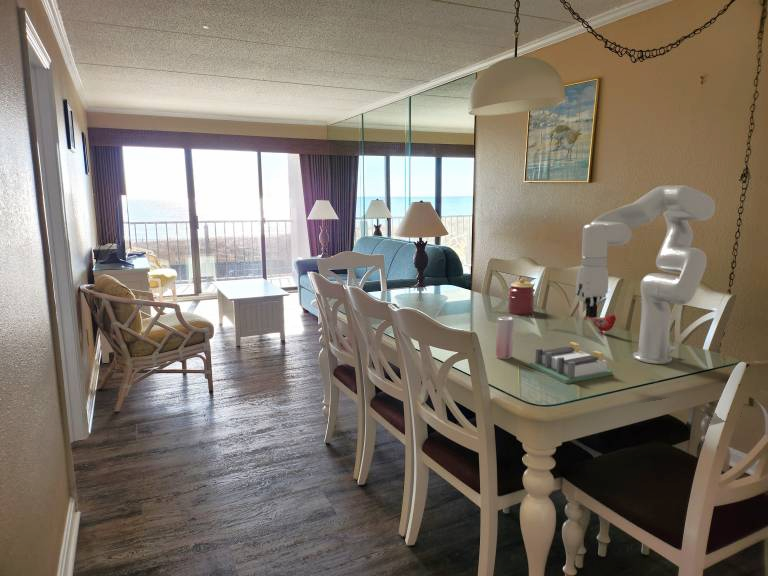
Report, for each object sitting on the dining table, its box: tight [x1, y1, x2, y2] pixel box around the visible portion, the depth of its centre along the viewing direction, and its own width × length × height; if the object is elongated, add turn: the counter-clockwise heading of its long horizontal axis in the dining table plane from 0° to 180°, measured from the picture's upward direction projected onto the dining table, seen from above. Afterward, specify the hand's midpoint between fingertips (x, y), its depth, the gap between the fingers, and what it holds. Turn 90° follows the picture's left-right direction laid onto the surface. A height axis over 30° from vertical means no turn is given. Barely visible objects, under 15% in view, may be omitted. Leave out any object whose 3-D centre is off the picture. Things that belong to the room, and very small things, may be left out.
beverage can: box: [495, 316, 514, 360], centre depth 191 cm, size 6×6×15 cm
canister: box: [507, 277, 536, 316], centre depth 262 cm, size 13×13×18 cm
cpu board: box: [529, 341, 614, 384], centre depth 177 cm, size 20×18×7 cm
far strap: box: [541, 346, 574, 355], centre depth 181 cm, size 12×3×1 cm, turn 113°
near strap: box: [563, 354, 598, 365], centre depth 171 cm, size 12×3×1 cm, turn 113°
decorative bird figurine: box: [588, 313, 617, 336], centre depth 222 cm, size 3×18×10 cm, turn 19°
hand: (591, 316), depth 171 cm, fingers closed
